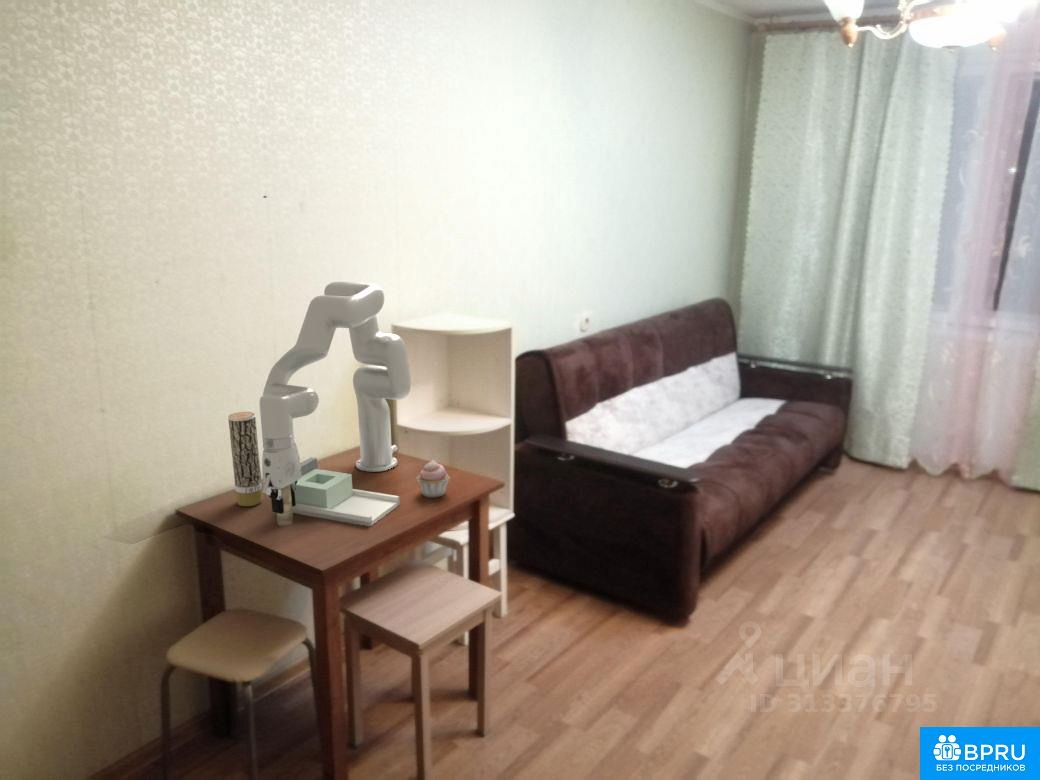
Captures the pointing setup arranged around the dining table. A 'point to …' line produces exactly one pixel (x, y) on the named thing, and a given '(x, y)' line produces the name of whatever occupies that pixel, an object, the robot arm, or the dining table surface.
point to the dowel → (285, 507)
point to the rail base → (350, 504)
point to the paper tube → (245, 458)
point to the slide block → (323, 488)
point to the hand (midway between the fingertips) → (284, 508)
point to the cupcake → (433, 480)
